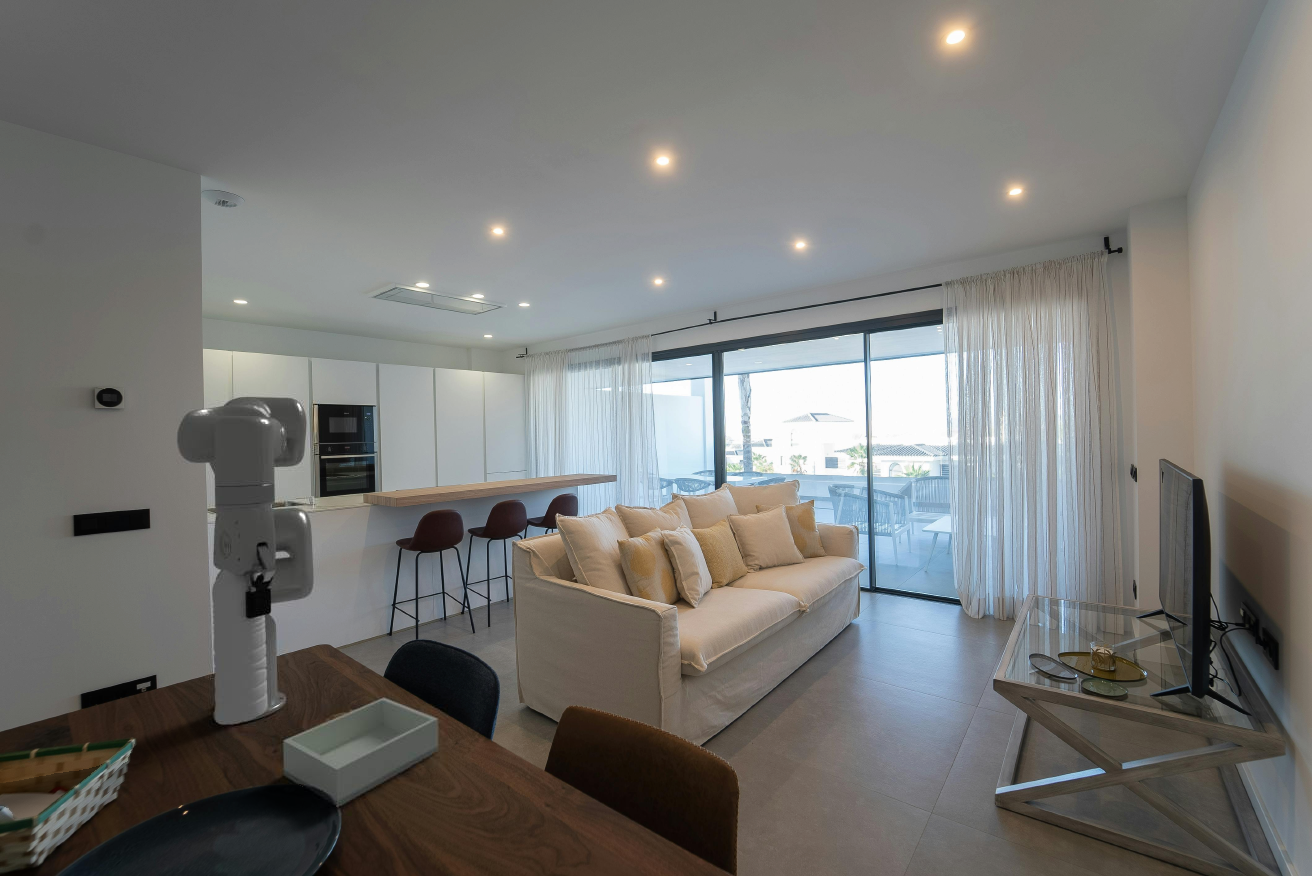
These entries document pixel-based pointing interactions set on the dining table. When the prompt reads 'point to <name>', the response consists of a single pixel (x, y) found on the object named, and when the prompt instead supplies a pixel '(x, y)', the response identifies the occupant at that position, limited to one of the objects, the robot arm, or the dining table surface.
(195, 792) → the dining table surface
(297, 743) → the bin
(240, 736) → the dining table surface
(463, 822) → the dining table surface
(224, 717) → the water bottle
